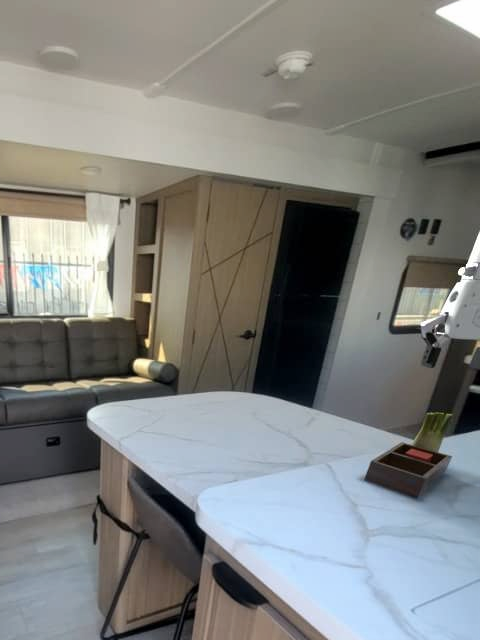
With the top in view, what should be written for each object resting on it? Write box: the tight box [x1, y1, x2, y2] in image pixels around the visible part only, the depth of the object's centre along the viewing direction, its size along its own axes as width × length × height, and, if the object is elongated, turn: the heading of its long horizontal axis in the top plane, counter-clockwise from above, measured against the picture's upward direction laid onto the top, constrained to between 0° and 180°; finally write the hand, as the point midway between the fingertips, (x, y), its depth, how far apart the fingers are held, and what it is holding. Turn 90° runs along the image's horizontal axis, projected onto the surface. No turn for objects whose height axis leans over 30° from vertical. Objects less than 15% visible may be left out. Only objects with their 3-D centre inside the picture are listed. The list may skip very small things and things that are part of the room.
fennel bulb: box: [411, 412, 454, 452], centre depth 93 cm, size 6×5×12 cm
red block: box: [405, 449, 433, 463], centre depth 89 cm, size 4×4×4 cm
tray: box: [363, 441, 453, 500], centre depth 87 cm, size 18×10×4 cm, turn 129°
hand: (451, 367), depth 82 cm, fingers open, 9 cm apart
